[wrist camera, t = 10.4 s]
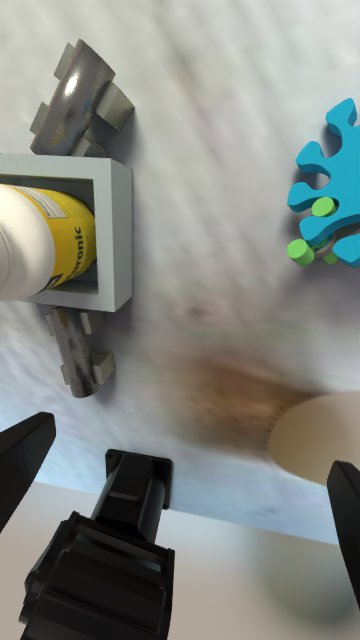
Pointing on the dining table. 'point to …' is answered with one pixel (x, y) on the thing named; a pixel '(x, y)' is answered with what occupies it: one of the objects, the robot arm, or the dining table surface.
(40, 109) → the shaft
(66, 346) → the shaft
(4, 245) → the supplement bottle
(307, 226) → the gear
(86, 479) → the dining table surface
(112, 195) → the housing
